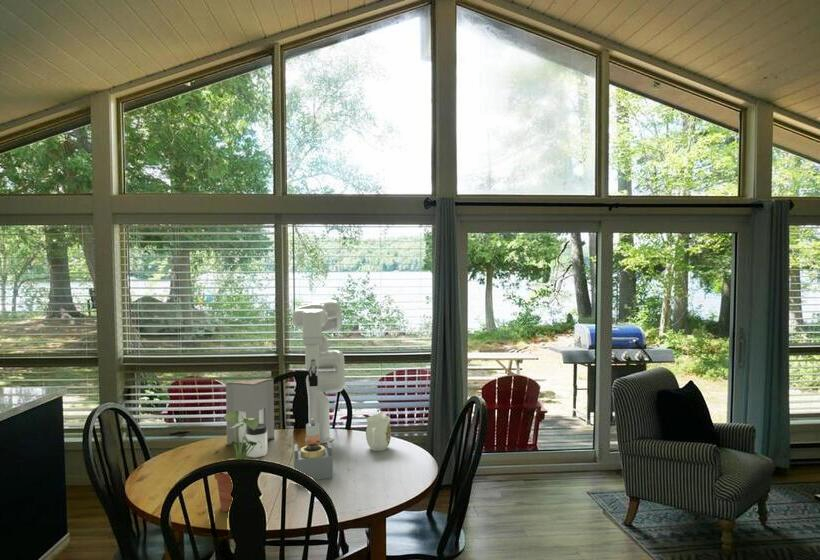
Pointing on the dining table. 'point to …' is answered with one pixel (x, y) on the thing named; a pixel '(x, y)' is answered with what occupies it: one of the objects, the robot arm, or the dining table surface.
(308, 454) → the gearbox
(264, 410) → the cabinet
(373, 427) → the pitcher
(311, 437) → the cocktail shaker
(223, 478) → the potted plant
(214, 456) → the dining table surface
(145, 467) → the dining table surface
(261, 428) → the jar
